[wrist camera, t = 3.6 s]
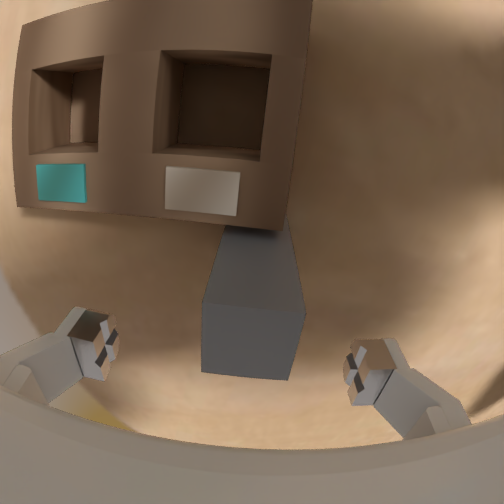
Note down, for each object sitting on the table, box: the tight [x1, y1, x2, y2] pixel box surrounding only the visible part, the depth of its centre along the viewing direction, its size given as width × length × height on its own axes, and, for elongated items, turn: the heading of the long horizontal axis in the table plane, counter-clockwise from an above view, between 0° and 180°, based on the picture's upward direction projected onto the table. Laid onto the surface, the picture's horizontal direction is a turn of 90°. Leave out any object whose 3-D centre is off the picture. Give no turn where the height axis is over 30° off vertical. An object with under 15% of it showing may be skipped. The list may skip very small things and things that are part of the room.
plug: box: [201, 214, 306, 380], centre depth 13 cm, size 3×3×9 cm
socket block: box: [12, 0, 313, 231], centre depth 12 cm, size 14×10×4 cm
